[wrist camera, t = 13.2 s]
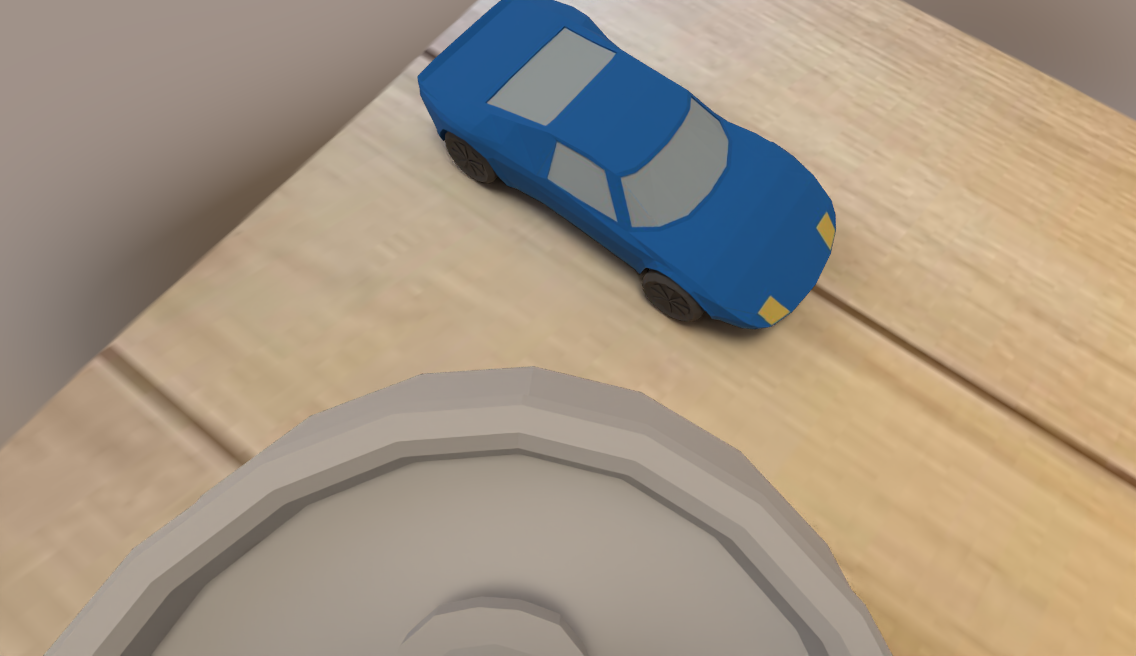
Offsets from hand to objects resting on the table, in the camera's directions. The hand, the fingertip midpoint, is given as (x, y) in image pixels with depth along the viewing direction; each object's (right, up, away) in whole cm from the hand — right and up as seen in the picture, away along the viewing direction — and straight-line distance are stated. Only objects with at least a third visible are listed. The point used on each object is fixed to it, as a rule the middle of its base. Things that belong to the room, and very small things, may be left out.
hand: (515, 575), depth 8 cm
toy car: (+4, +11, +19) cm, 23 cm away
